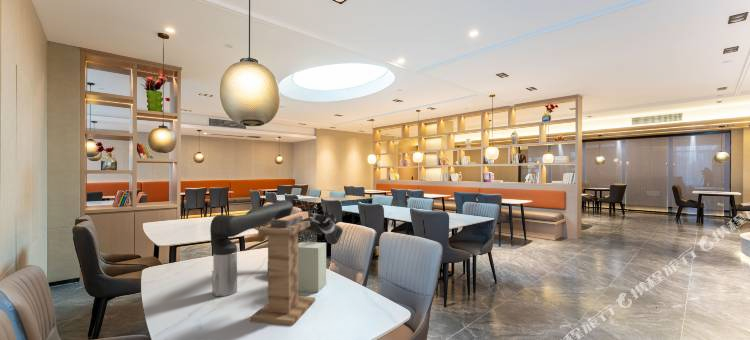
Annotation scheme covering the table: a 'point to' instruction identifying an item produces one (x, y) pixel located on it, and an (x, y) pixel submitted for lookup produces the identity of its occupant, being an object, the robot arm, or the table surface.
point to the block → (303, 214)
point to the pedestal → (311, 266)
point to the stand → (283, 274)
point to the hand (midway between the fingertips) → (316, 212)
